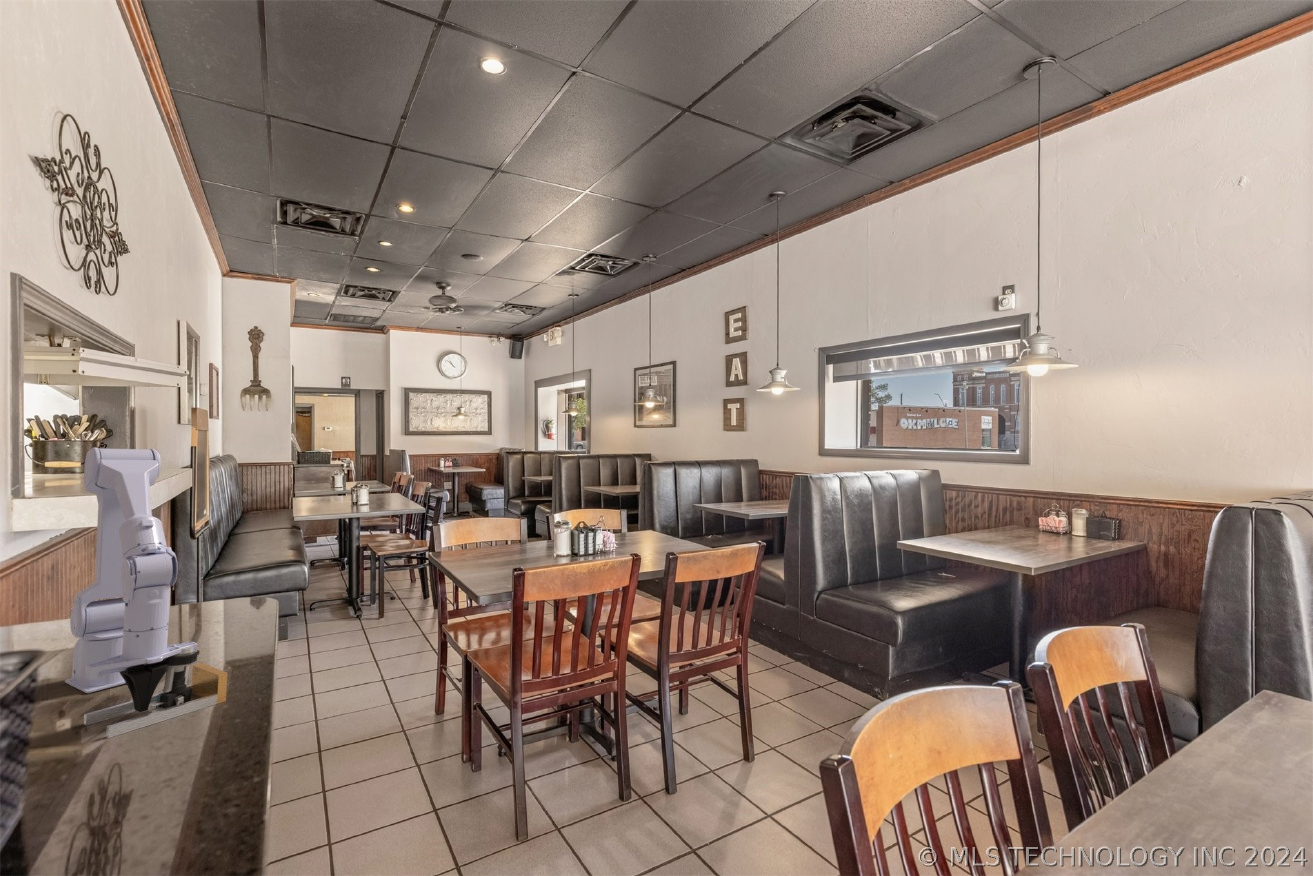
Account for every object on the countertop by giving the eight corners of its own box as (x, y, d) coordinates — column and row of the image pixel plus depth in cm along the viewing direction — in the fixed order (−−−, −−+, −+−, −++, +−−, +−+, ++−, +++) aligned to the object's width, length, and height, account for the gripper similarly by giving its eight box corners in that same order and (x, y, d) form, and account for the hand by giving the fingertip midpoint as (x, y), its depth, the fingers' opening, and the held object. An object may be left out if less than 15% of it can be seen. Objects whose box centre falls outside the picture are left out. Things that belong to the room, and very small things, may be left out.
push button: (164, 717, 99) (173, 654, 100) (136, 713, 100) (145, 651, 101) (199, 703, 106) (208, 645, 107) (172, 699, 107) (181, 641, 107)
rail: (83, 724, 97) (85, 692, 97) (200, 690, 111) (201, 663, 111) (108, 738, 93) (110, 705, 93) (225, 701, 107) (227, 672, 107)
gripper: (101, 642, 92) (95, 733, 91) (208, 621, 105) (203, 700, 104) (80, 634, 95) (75, 721, 95) (187, 614, 108) (182, 691, 107)
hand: (141, 710), depth 100 cm, fingers closed
